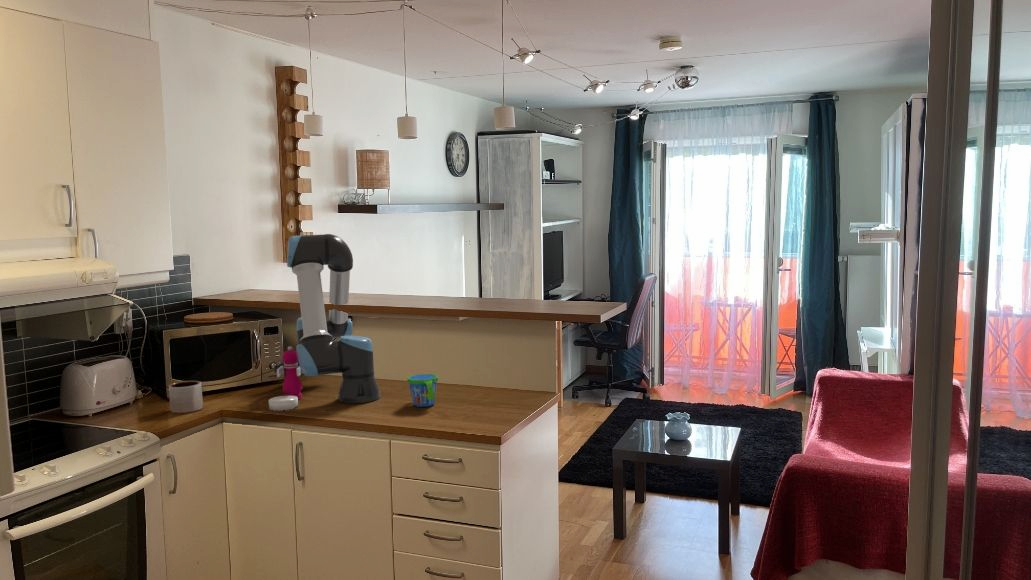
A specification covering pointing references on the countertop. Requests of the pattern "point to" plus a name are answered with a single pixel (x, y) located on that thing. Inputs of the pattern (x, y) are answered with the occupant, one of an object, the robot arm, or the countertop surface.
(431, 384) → the snack cup
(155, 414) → the countertop surface
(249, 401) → the countertop surface
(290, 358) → the pepper mill
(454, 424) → the countertop surface
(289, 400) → the ceramic stand
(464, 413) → the countertop surface
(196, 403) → the planter
